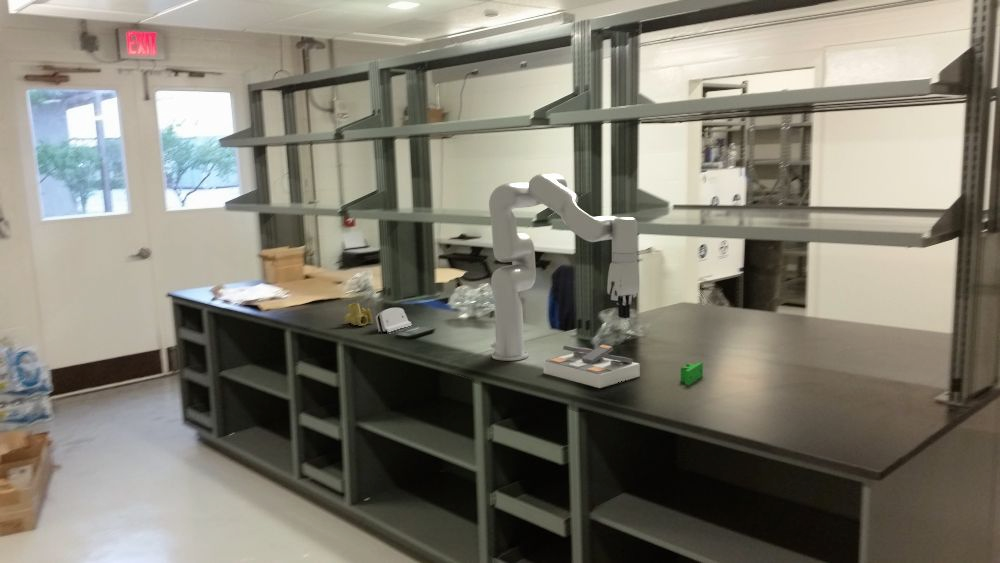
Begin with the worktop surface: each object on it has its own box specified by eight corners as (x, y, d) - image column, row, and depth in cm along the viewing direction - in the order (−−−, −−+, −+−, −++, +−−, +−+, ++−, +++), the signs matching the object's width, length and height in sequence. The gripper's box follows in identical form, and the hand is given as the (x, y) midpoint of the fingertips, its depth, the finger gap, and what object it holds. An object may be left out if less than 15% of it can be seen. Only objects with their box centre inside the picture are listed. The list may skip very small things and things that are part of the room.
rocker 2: (582, 361, 238) (581, 357, 238) (603, 347, 244) (602, 344, 244) (592, 363, 235) (591, 359, 234) (613, 350, 241) (612, 346, 240)
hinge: (388, 333, 308) (380, 310, 309) (379, 336, 311) (372, 313, 311) (412, 325, 323) (405, 303, 323) (404, 328, 325) (397, 306, 325)
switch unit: (543, 373, 242) (543, 357, 241) (583, 362, 253) (583, 348, 252) (599, 388, 223) (599, 371, 223) (639, 376, 235) (639, 360, 234)
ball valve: (359, 330, 321) (379, 323, 328) (354, 306, 319) (374, 300, 326) (345, 328, 331) (364, 321, 337) (339, 305, 329) (359, 299, 335)
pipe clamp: (690, 375, 235) (691, 361, 234) (702, 377, 233) (702, 362, 232) (676, 384, 226) (676, 369, 225) (688, 385, 224) (689, 370, 223)
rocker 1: (563, 349, 244) (563, 345, 244) (584, 351, 250) (585, 347, 250) (572, 351, 240) (573, 347, 240) (594, 354, 247) (594, 350, 247)
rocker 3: (600, 357, 232) (601, 352, 232) (621, 360, 238) (622, 356, 238) (611, 359, 228) (612, 355, 228) (632, 363, 235) (633, 359, 235)
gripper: (630, 254, 239) (630, 312, 242) (598, 259, 229) (598, 319, 232) (649, 256, 233) (649, 315, 236) (617, 261, 224) (616, 322, 226)
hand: (623, 317), depth 234 cm, fingers closed
